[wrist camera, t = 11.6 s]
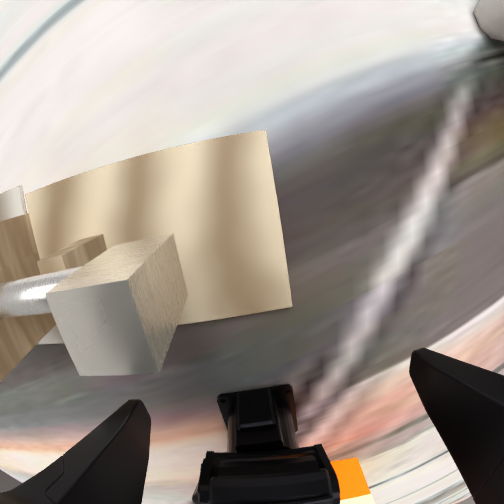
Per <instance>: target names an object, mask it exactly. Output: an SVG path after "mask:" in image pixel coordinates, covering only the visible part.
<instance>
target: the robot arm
mask: <svg viewBox="0 0 504 504" xmlns="http://www.w3.org/2000/svg"><path fill="white" fill-rule="evenodd" d="M409 373H410V377H411V379H412V381H413V383H414V385H415V388H416V390H417V392H418V394H419V397H420V399H421V401H422V404H423V406H424V408H425V410H426V412H427V414H428V415H429V417H430V419H431V420H432V422H433V424H434V426H435V427H436V429H437V431H438V433H439V434H440V436H441V438H442V440H443V442H444V443H445V445H446V447H447V449H448V451H449V453H450V454H451V456H452V458H453V460H454V462H455V464H456V466H457V467H458V469H459V471H460V473H461V475H462V477H463V479H464V481H465V483H466V485H467V487H468V489H469V491H470V493H471V495H472V497H473V500H474V501H475V503H476V504H504V376H503V375H501V374H498V373H495V372H492V371H489V370H486V369H483V368H480V367H477V366H474V365H471V364H468V363H466V362H463V361H460V360H457V359H454V358H451V357H448V356H446V355H443V354H440V353H437V352H434V351H432V350H429V349H426V348H420V349H417V350H414V351H413V352H412V355H411V362H410V368H409ZM286 389H289V390H287V391H285V390H286ZM221 399H225V400H221ZM217 402H218V405H219V408H220V411H221V413H222V416H223V419H224V422H225V425H226V427H227V430H228V445H227V452H224V453H219V452H214V451H207V453H206V458H205V459H203V463H202V464H201V472H200V478H199V482H198V485H197V487H196V489H195V491H194V494H193V497H192V500H193V503H194V504H340V487H339V482H338V478H337V475H336V472H335V470H334V468H333V466H332V464H331V462H330V461H329V459H328V457H327V455H326V453H325V451H324V449H323V447H322V445H321V444H317V445H314V446H310V447H303V448H299V447H298V442H297V437H296V433H295V432H297V430H298V428H297V420H296V412H295V404H294V396H293V389H292V386H291V385H289V384H285V385H280V386H274V387H268V388H262V389H256V390H249V391H242V392H234V393H226V394H220V395H219V396H218V397H217ZM150 431H151V418H150V415H149V413H148V411H147V410H146V408H145V406H144V404H143V402H142V401H141V400H139V399H136V400H128V401H127V402H126V403H125V404H124V405H122V406H121V407H120V408H119V409H118V410H117V411H115V412H114V413H113V414H112V415H111V416H109V417H108V418H107V419H106V420H105V421H103V422H102V423H101V424H100V425H99V426H97V427H96V428H95V429H94V430H93V431H91V432H90V433H89V434H88V435H87V436H85V437H84V438H83V439H82V440H81V441H79V442H78V443H77V444H76V445H74V446H73V447H72V448H71V449H70V450H68V451H67V452H66V453H65V454H63V456H61V457H60V458H58V459H57V460H56V461H55V462H53V463H52V464H51V465H49V466H48V467H47V468H45V469H44V470H42V471H41V472H39V473H38V474H36V475H35V476H33V477H32V478H30V479H28V480H27V481H25V482H24V483H22V484H20V485H19V486H17V487H16V488H14V489H12V490H10V491H7V492H2V493H0V504H141V503H142V496H143V490H144V484H145V478H146V472H147V466H148V460H149V447H150Z"/></svg>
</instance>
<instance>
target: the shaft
mask: <svg viewBox="0 0 504 504" xmlns="http://www.w3.org/2000/svg"><path fill="white" fill-rule="evenodd" d="M187 297H188V292H187V288H186V284H185V280H184V276H183V272H182V268H181V264H180V260H179V255H178V251H177V247H176V242H175V238H174V233H172V234H167V235H162V236H157V237H152V238H147V239H142V240H137V241H132V242H127V243H123V244H118V245H114V246H113V247H111V248H109V249H108V250H106V251H105V252H103V253H102V254H100V255H99V256H97V257H96V258H94V259H93V260H91V261H90V262H88V263H87V264H85V265H84V266H81V267H76V268H71V269H66V270H62V271H57V272H52V273H47V274H42V275H37V276H33V277H28V278H23V279H19V280H14V281H9V282H5V283H0V318H8V317H18V316H28V315H37V314H46V313H52V315H53V317H54V320H55V322H56V325H57V327H58V329H59V332H60V334H61V336H62V339H63V341H64V343H65V345H66V348H67V350H68V352H69V354H70V356H71V358H72V360H73V363H74V365H75V367H76V369H77V371H78V373H79V374H80V376H109V375H136V374H153V373H160V371H161V369H162V366H163V363H164V360H165V357H166V354H167V352H168V349H169V346H170V343H171V340H172V338H173V335H174V332H175V329H176V327H177V324H178V321H179V319H180V316H181V313H182V311H183V308H184V305H185V303H186V300H187Z"/></svg>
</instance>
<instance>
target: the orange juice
mask: <svg viewBox="0 0 504 504" xmlns="http://www.w3.org/2000/svg"><path fill="white" fill-rule="evenodd" d="M331 464H332V466H333V468H334V470H335V472H336V475H337V478H338V482H339V487H340V504H375V502H374V500H373V497H372V494H371V493H370V490H369V488H368V485H367V482H366V480H365V477H364V475H363V472H362V469H361V467H360V464H359V461H358V459H357V458H352V459H346V460H339V461H333V462H331Z"/></svg>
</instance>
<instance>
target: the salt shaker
mask: <svg viewBox="0 0 504 504" xmlns="http://www.w3.org/2000/svg"><path fill="white" fill-rule="evenodd" d="M473 13H474V15H475V17H476V20H477V22H478V24H479V27H480V28H481V29H482V30H483V31H484V32H485V33H486V34H487V35H488V36H489V37H490V38H491V39H496V40H501V41H504V0H479V1H478V4H477V6H476V8H475V10H474V12H473Z"/></svg>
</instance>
